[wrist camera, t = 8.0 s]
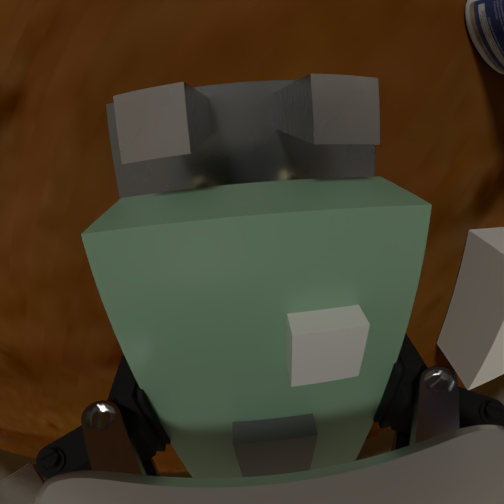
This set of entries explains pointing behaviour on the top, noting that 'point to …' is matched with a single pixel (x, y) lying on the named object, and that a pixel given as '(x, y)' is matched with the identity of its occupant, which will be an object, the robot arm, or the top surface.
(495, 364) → the block
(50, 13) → the top surface
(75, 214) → the top surface
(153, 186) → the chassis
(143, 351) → the board
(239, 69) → the top surface
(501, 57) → the pill bottle
